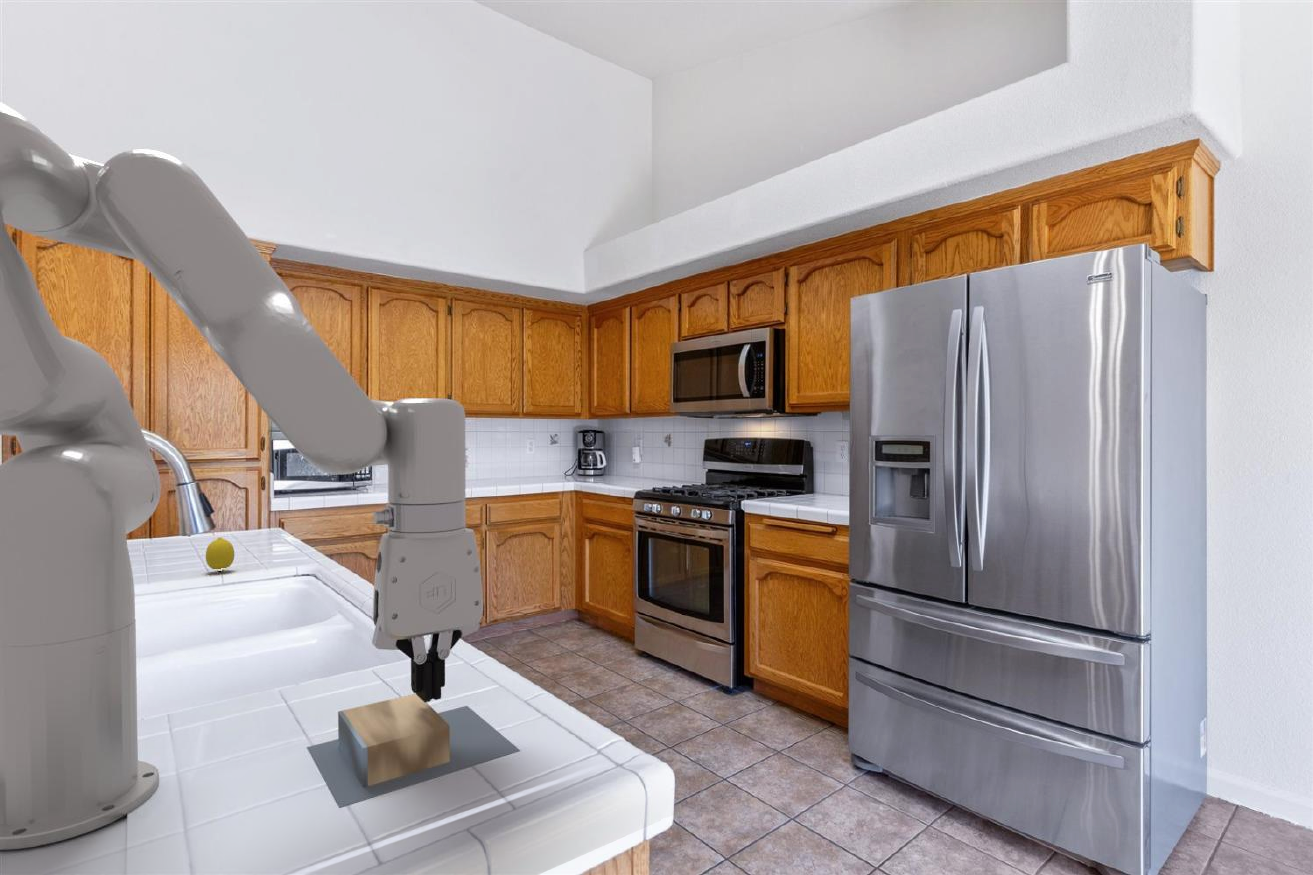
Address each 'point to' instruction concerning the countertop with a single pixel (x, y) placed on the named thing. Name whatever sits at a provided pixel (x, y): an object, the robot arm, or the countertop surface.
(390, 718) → the oak slab
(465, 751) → the mat
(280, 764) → the countertop surface
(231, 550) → the lemon
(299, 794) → the countertop surface
